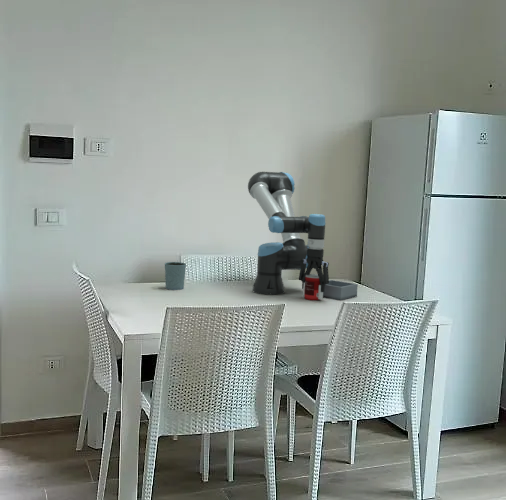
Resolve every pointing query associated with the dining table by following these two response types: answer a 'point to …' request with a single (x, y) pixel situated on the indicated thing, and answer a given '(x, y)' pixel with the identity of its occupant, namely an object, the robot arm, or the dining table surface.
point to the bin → (340, 290)
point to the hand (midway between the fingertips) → (312, 297)
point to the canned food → (312, 287)
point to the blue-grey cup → (175, 275)
